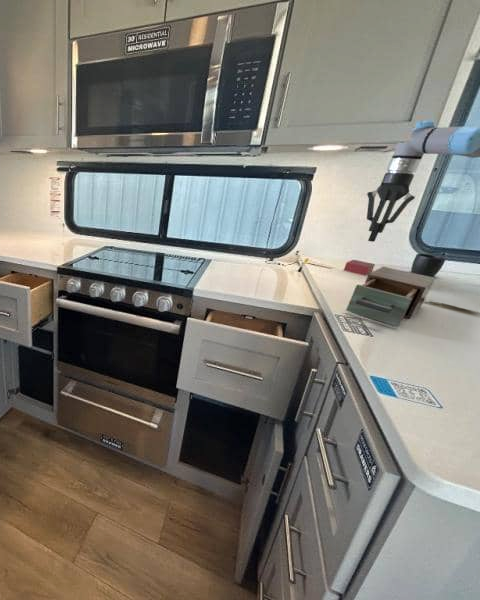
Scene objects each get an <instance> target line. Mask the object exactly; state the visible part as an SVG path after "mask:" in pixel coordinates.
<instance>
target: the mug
mask: <svg viewBox="0 0 480 600" xmlns="http://www.w3.org/2000/svg"><path fill="white" fill-rule="evenodd" d="M446 260H447V258H445V257H442V256H440V255H439V256H438V255H434V254H428V253H416V255H415V257H414V260H413V261H412V265H411V270H410V273H415V274H420V275H424V276H429V277H434V278H435V276H436V275H437V274H438V273H439V272H440V271H441V270H442V267H443V266H444V264H445V262H446Z"/></svg>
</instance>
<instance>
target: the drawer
mask: <svg viewBox="0 0 480 600" xmlns="http://www.w3.org/2000/svg"><path fill="white" fill-rule="evenodd" d="M418 290H419V289H417V288H413V287H409V286H405V285H401V284H396V283H392V282H388V281H384V280H380V279H376V278H373V279H372V280H370V281H368V282H366V283H365V282H364V283H363V284H356V285H355V287H354V290H353V293H352V295H351V297H350V300H349V302H348V304H347V307H346V309H345V311H346V312H349V313H352V314H355V315H359V316H362V317H365V318H368V319H372V320H375V321H378V322H381V323H384V324H388V325H390V326H394V327H397V328H399V326H400V324H401V322H402V320H403V318H404V317H403V316H404V315H405V314H406V313H407V312H408V309H409V308H410V306H411V304H412V302H413V300H414V298H415V296H416V294H417V292H418Z"/></svg>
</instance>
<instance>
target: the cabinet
mask: <svg viewBox="0 0 480 600" xmlns="http://www.w3.org/2000/svg"><path fill="white" fill-rule="evenodd" d="M373 278H376V279H380V280H384V281H388V282H392V283H396V284H401V285H405V286H409V287H413V288H417V289H419V290H418V292H417V294H416V296H415V298H414V300H413V302H412V304H411V306H410V308H409V309H408V312H407V313H406V314H405V315H404V316H403V318H405V319H408V320H410V319H411V318H413V316H414V315H415V314H416V313H417V312H418V311H419V310H420V308H421V307H422V305H423V304H424V302H425V300H426V298H427V296H428V294H429V292H430V291H431V288H432V286H433V285H434V282H435V280H436V279H437V278H436V277H435V276H434V277H429V276H424V275H420V274H415V273H411V271H406V270H400V269H396V268H391V267H386V266H381V267H379V268H377V269H376V270H374V271H372V272H371V273H369V274H367V277H366V279H365V282H364V284H365V283H366V282H368V281H370V280H372V279H373Z"/></svg>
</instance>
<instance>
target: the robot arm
mask: <svg viewBox="0 0 480 600" xmlns="http://www.w3.org/2000/svg"><path fill="white" fill-rule="evenodd" d="M419 121H420V122H418V123H416V124H415V125H416V126H415V128H414V129H413V133H412V135H411V137H412V141H411V142H404V143H398V142H397V144H396V147H395V149H394V151H393V154H392V155H391V156H392V157H391V159H390V161H389V163H388V166H387V168H386V171H387V172H386V173H384V175H383V178H382V181H381V183H380V185H379V186H378V187H377V189H375V190H372V191H368V192H367V193H366V195H367V198H368V203H367V212H366V214H367V215H366V220H368V221H370V222H371V223H370V226H369V228H368V232H370V235H369V237H368V240H367V242H372V243H373V242H376V239H377V237H378V235H379V234H382V233H383V232H384V231H385V228H386V225H387V224H393V223H394V222H396V220H397V219H398V217H399V216H400V215H401V213H402V212H403V211H404V210H405V209H406V207H407V206H408V204H410V203H411V202H412V201H414V200H415V199H416V196H415V195H413V194H411V193H410V187H411V184H412V181H413V180H414V178H415V175H414V173H416V172H417V170H418V168H419V166H420V164H421V162H422V158H423V156H424V155H425V154H427V155H451V156H460V157H467V158H470V159H471V158H472V159H477V158H480V125H464V126H463V125H462V126H446V127H445V126H444V127H439V126H438V127H437V126H436V127H437V128H435V127H434V121H435V120H423V121H424V122H421V121H422V120H419ZM433 128H434V129H433ZM430 130H431V131H430ZM429 131H430V132H429ZM426 135H427V136H426ZM423 141H424V142H423ZM377 195H378V197H379V199H380V200H379V203H378V205H377V208H376V211H375V213H374V208H375V199H376V198H375V197H377ZM402 198H404V200H403V201H402V203H401V204H400V205H399V207H398V208H397V209H396V210H395V212H394V213H393V214H392V211H393V209H394V207H395V204H396V203H397V201H399V200H401V199H402ZM387 201H389V202H388V205H387V207H386V210H385V212H384V215H383V217H382V219H381V221H380V222H379V220H380V217H381V214H382V212H383V211H384V208H385V205H386V203H387ZM391 215H392V216H391Z"/></svg>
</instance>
